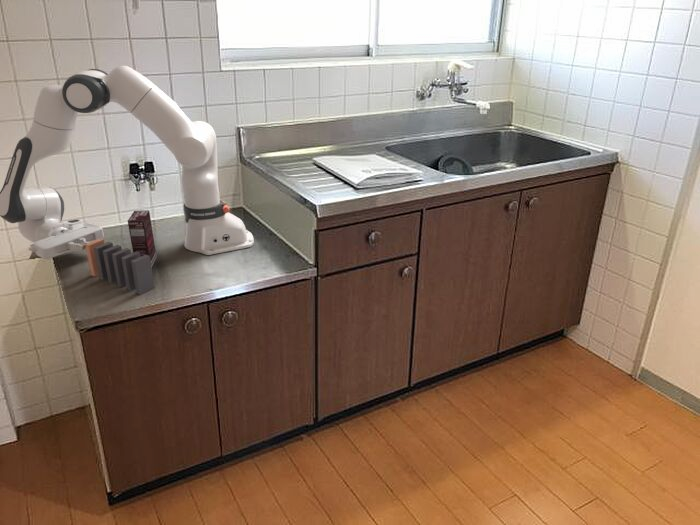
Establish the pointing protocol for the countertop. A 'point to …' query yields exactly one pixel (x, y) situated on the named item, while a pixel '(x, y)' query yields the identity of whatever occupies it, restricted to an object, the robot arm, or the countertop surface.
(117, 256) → the domino
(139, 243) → the supplement box
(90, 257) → the domino
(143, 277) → the domino
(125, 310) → the countertop surface
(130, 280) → the domino
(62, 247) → the robot arm
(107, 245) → the domino
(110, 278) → the domino
